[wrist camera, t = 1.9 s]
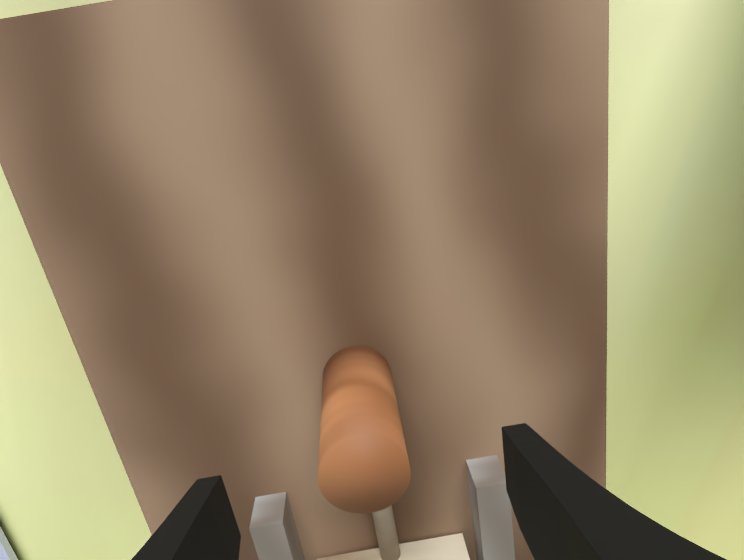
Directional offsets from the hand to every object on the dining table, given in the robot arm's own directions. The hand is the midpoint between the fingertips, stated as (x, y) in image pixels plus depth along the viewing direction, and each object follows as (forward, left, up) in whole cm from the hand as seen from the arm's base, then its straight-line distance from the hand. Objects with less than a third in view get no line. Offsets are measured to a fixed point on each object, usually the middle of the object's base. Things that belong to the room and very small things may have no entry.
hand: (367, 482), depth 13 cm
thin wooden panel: (0, -6, -6) cm, 8 cm away
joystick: (0, -6, -5) cm, 8 cm away
